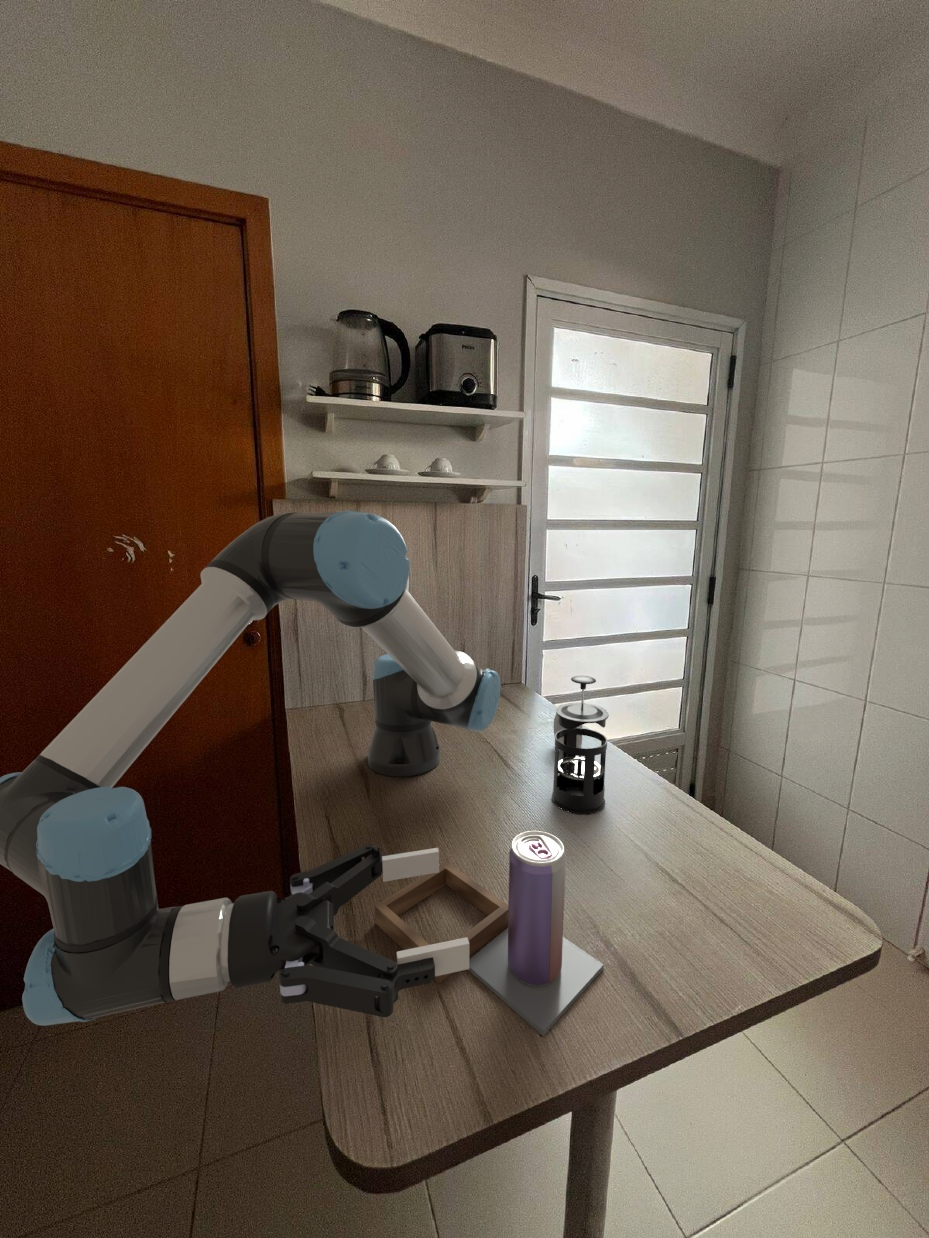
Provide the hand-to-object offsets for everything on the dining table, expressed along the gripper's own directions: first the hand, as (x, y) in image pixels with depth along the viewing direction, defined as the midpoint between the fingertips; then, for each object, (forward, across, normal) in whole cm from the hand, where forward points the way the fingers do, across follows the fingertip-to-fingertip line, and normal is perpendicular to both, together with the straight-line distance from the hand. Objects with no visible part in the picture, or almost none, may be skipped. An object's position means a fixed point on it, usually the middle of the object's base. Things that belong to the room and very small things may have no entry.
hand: (452, 900), depth 54 cm
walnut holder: (+1, -9, -11) cm, 14 cm away
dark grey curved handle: (+37, -49, -11) cm, 62 cm away
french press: (+30, -32, -11) cm, 45 cm away
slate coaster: (+9, 0, -11) cm, 14 cm away
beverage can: (+9, 0, -10) cm, 14 cm away
